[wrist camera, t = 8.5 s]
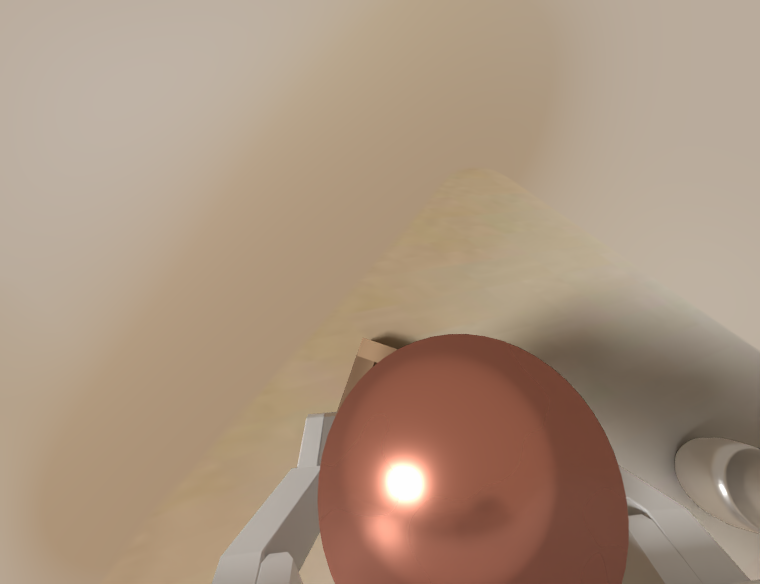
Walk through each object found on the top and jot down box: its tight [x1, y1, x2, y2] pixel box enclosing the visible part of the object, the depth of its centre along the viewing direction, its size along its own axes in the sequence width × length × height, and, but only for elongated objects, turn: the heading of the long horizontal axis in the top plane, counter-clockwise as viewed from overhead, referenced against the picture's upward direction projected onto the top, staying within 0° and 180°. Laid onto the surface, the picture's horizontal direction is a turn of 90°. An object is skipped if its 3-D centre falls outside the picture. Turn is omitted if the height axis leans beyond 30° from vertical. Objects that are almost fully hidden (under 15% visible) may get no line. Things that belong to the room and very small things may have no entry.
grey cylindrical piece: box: [317, 334, 629, 584], centre depth 10 cm, size 5×5×11 cm
